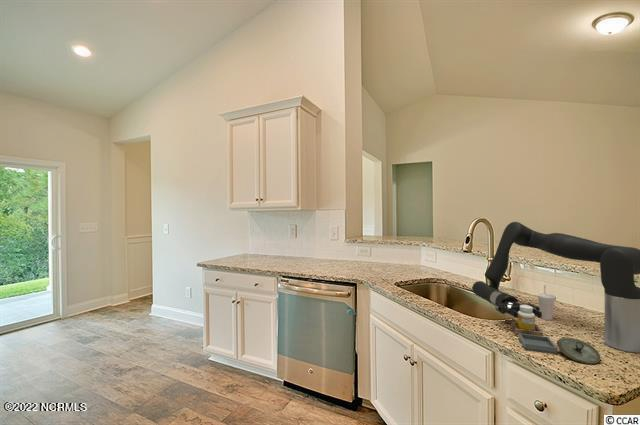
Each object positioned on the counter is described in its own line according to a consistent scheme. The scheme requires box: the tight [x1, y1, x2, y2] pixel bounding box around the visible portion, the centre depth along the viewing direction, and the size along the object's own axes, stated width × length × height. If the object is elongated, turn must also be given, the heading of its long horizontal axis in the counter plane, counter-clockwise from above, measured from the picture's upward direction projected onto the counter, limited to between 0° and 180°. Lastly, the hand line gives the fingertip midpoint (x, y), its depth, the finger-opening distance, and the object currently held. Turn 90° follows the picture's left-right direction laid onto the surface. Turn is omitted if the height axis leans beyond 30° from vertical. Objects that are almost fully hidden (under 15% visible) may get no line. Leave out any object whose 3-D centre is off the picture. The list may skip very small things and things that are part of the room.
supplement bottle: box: [517, 304, 536, 331], centre depth 112 cm, size 5×5×10 cm
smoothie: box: [536, 284, 557, 321], centre depth 125 cm, size 6×6×14 cm
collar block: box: [510, 321, 544, 336], centre depth 112 cm, size 8×8×2 cm
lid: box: [556, 336, 601, 365], centre depth 93 cm, size 11×10×5 cm
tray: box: [518, 333, 559, 355], centre depth 101 cm, size 9×9×2 cm
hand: (528, 315), depth 110 cm, fingers open, 8 cm apart
